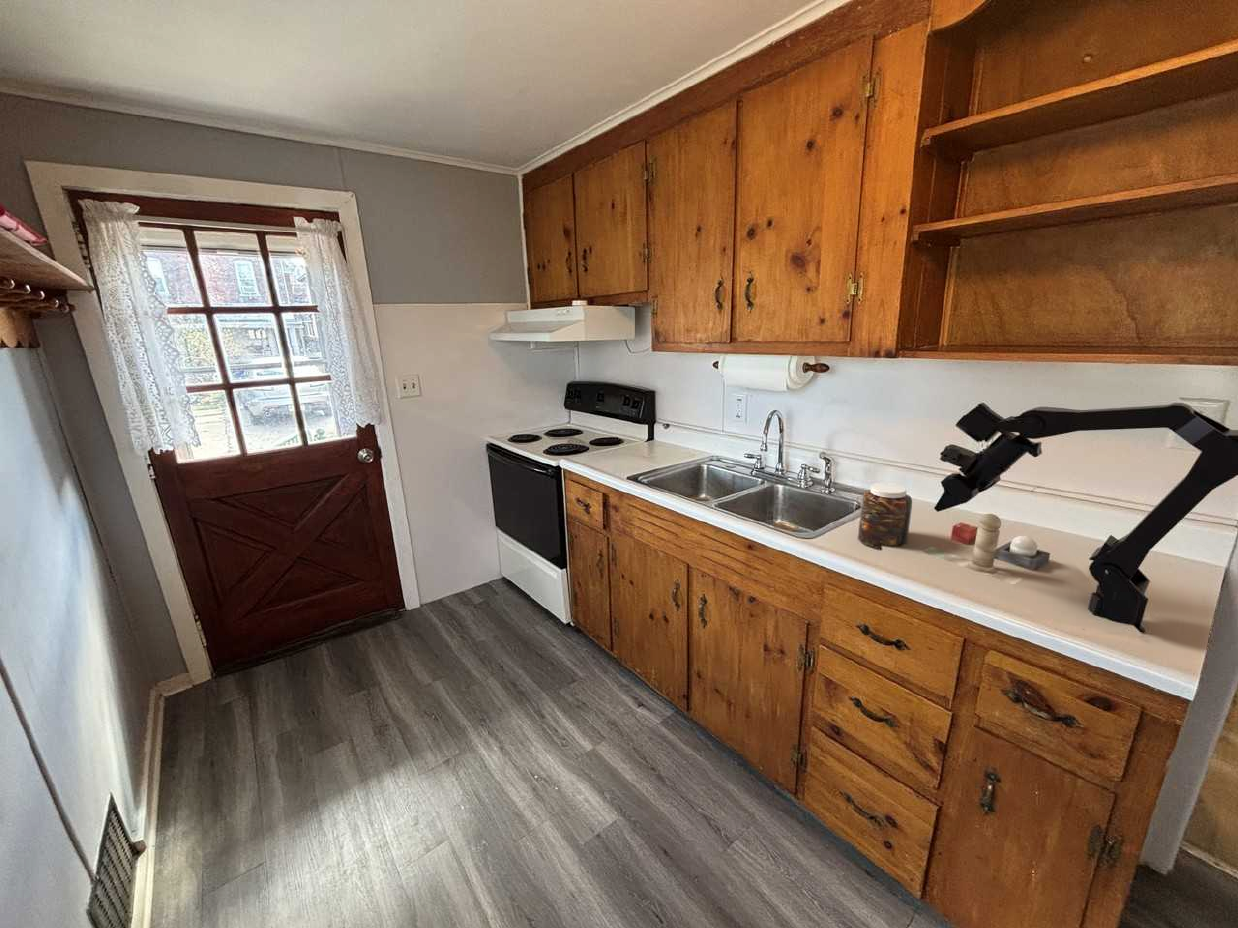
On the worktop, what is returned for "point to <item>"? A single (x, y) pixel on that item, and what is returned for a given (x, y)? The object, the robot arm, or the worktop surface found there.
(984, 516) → the pawn
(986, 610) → the worktop surface
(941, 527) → the worktop surface
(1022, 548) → the dome
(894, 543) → the jar
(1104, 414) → the robot arm
